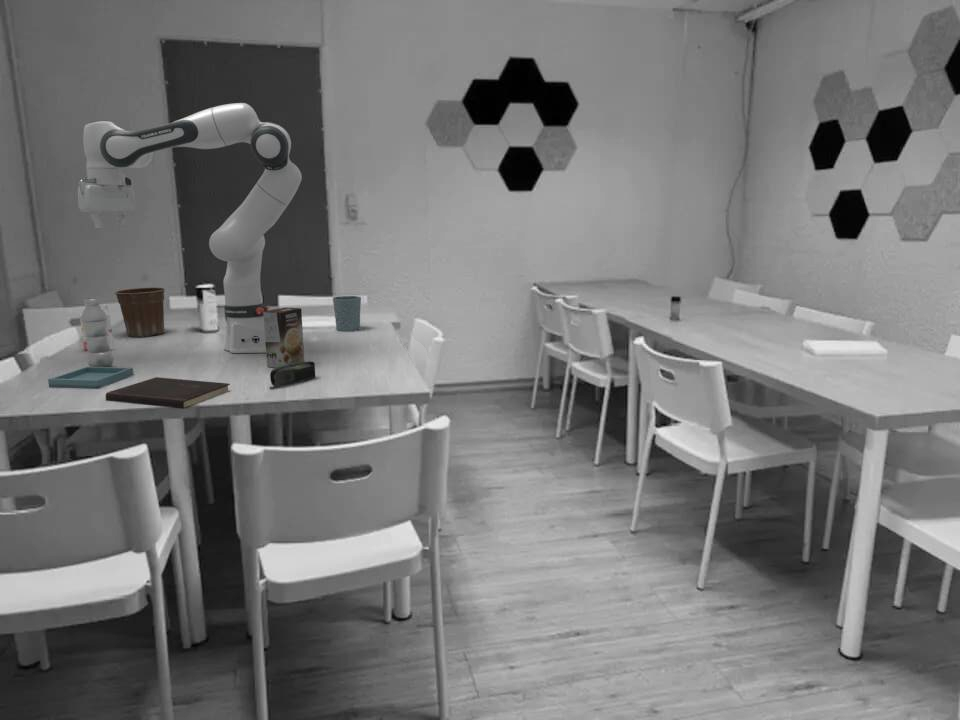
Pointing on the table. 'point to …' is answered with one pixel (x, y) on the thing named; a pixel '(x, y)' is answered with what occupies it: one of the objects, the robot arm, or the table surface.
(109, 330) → the ink cartridge box
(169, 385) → the hardcover book
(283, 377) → the black long block
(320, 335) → the table surface
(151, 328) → the plant pot
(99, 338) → the plastic bottle
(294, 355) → the cookie box
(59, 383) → the tray
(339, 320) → the blue cup
